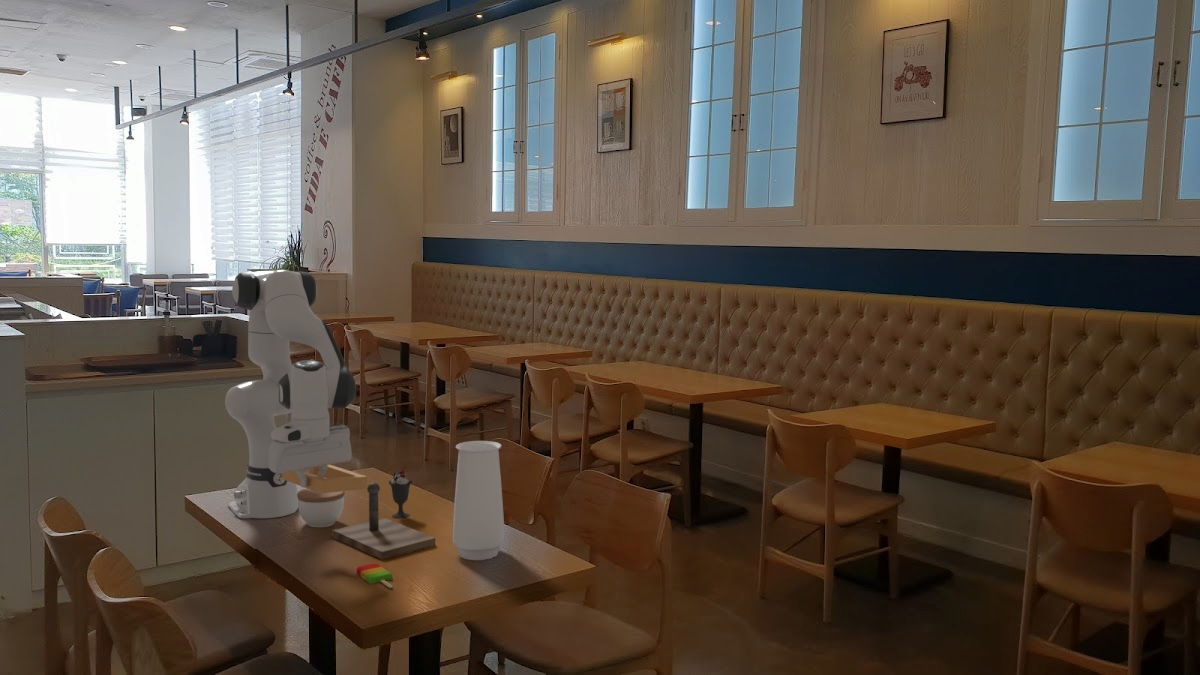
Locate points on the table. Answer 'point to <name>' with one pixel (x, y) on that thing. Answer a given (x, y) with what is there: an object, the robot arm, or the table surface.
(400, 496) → the sundae
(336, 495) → the lidded bowl
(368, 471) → the table surface
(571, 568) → the table surface
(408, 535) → the stand
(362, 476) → the link
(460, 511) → the vase
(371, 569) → the popsicle
